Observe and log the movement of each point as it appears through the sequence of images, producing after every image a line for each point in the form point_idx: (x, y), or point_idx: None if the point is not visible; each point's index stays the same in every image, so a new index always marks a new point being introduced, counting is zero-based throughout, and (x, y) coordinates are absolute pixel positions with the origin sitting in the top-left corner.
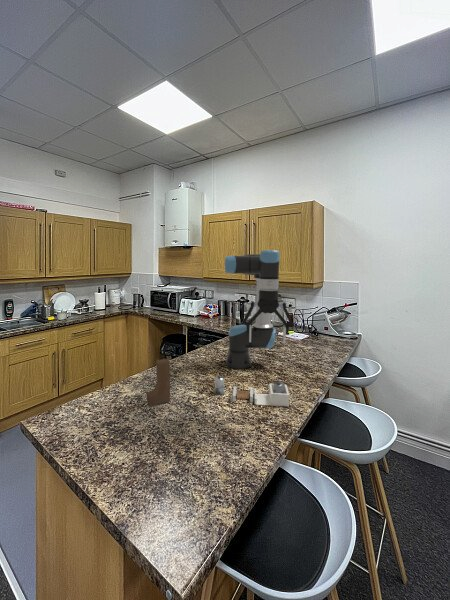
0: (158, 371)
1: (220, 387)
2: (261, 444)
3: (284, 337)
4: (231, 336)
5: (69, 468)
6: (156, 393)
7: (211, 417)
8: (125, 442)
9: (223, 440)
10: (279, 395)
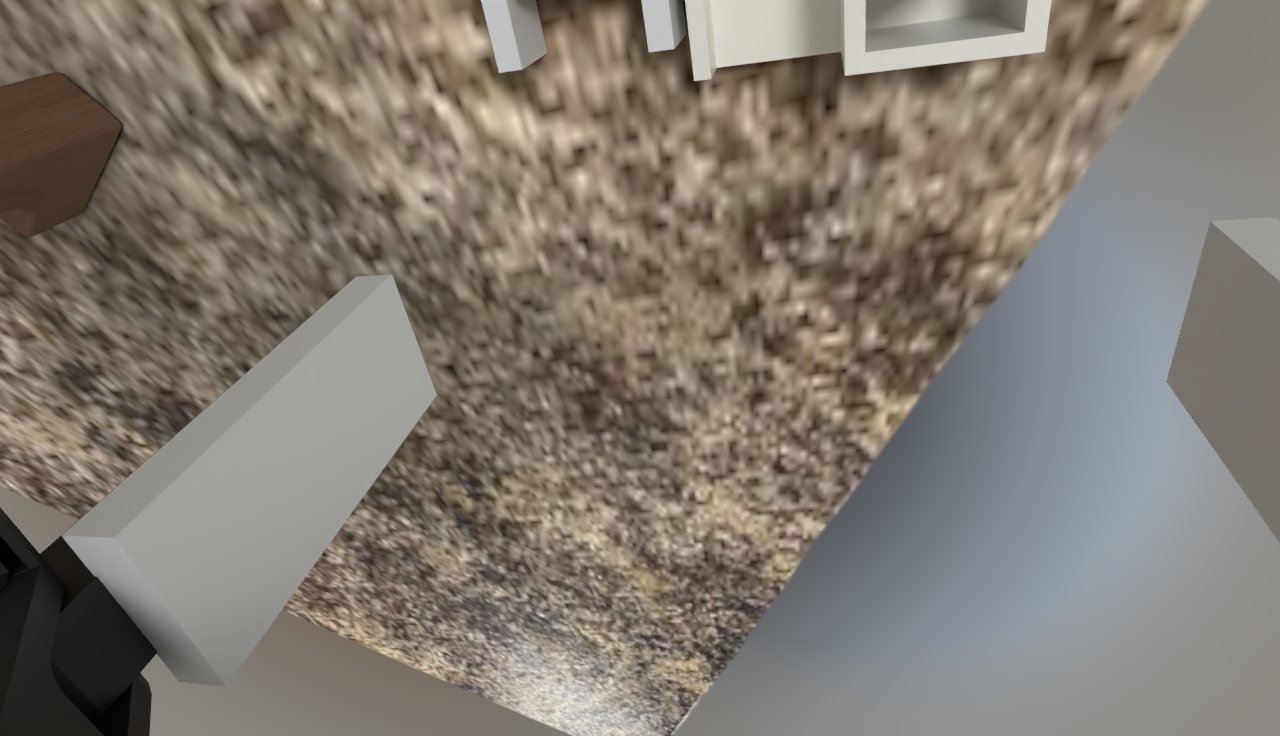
0: None
1: None
2: (774, 434)
3: (1269, 491)
4: None
5: None
6: (28, 213)
7: (457, 255)
8: None
9: (591, 427)
10: (932, 61)
